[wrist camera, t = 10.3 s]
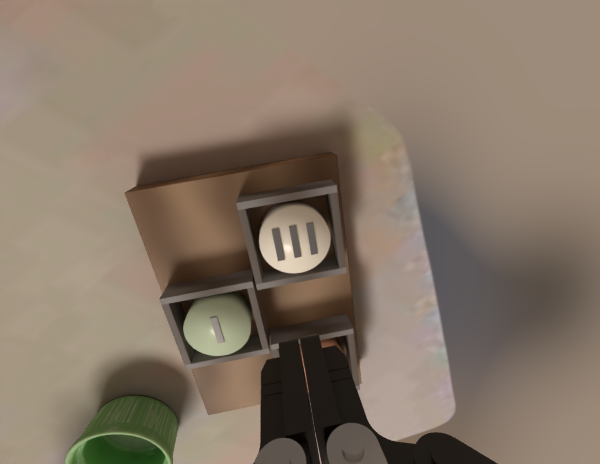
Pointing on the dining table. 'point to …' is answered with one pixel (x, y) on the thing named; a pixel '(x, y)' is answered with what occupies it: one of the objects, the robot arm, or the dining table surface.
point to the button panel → (246, 267)
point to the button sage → (218, 323)
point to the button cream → (294, 236)
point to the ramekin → (128, 434)
